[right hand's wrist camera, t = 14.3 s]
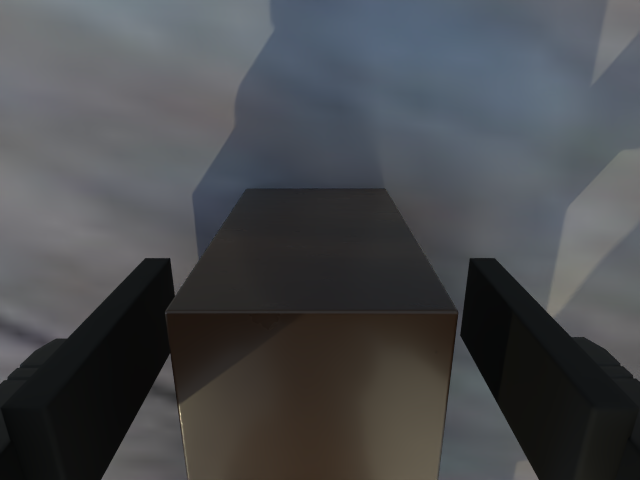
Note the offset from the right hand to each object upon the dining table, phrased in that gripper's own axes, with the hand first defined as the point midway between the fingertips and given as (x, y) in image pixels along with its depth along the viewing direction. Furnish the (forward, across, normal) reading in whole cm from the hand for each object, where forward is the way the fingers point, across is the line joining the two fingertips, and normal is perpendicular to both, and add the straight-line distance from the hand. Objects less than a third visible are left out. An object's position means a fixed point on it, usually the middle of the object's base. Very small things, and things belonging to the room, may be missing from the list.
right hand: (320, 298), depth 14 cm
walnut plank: (+2, 0, -10) cm, 10 cm away
